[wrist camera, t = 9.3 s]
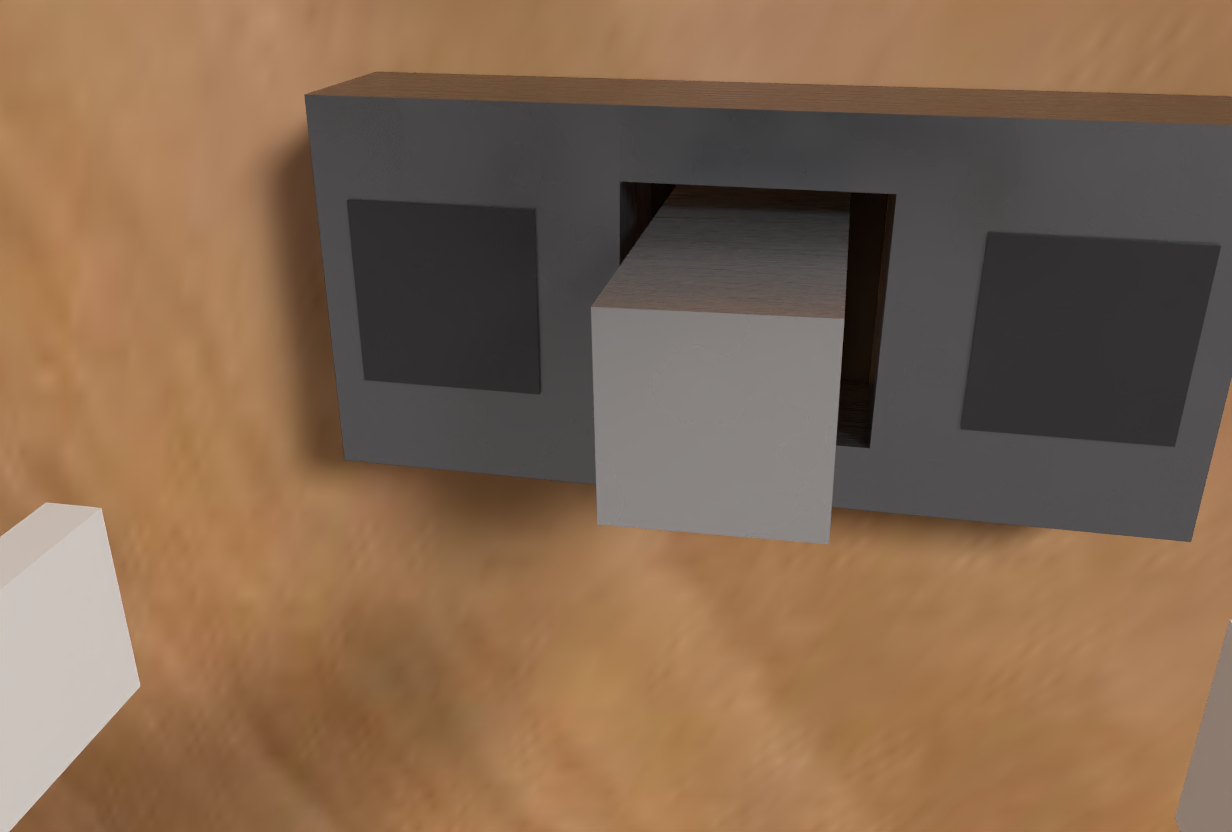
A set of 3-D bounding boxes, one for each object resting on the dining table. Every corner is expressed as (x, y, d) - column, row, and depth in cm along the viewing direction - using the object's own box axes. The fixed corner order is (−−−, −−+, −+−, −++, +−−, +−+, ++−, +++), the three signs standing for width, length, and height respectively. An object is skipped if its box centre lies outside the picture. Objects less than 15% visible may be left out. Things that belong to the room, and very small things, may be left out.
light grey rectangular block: (678, 340, 29) (597, 524, 20) (679, 181, 28) (591, 307, 19) (840, 348, 29) (828, 544, 20) (851, 185, 27) (844, 318, 18)
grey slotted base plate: (403, 399, 32) (343, 461, 28) (375, 72, 28) (302, 95, 24) (1149, 462, 28) (1192, 544, 24) (1230, 96, 24) (1294, 128, 21)
